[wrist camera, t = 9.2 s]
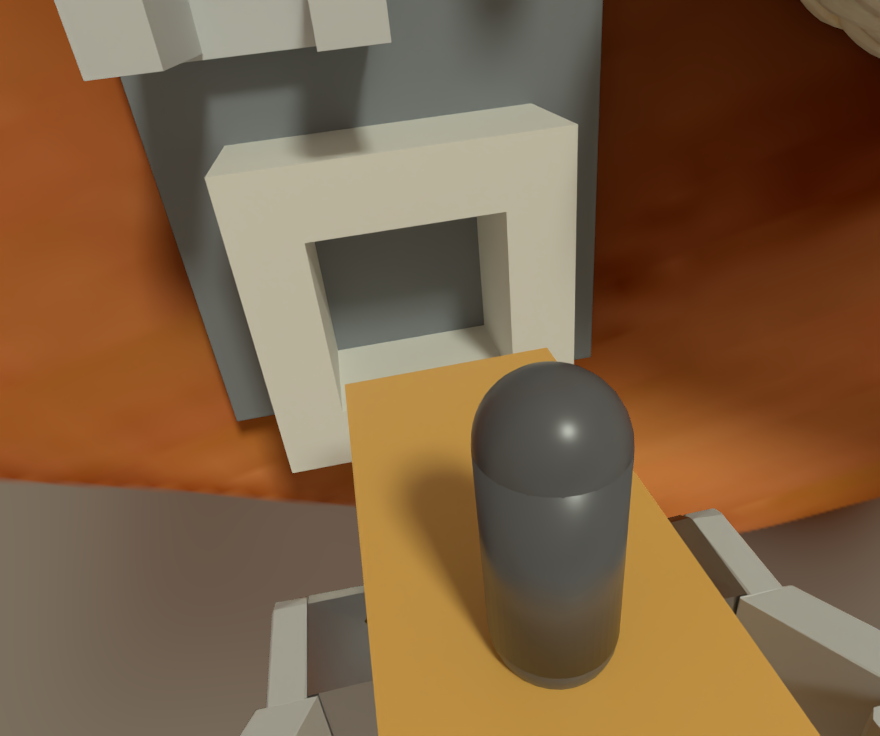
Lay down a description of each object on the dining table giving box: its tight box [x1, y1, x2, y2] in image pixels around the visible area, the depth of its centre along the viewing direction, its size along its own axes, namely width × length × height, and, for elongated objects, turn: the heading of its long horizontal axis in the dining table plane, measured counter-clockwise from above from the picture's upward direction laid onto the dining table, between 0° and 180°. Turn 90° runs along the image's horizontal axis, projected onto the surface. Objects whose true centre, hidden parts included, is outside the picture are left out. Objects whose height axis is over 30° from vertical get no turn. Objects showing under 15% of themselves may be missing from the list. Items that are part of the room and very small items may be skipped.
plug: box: [345, 348, 820, 736], centre depth 9 cm, size 4×7×8 cm, turn 6°
